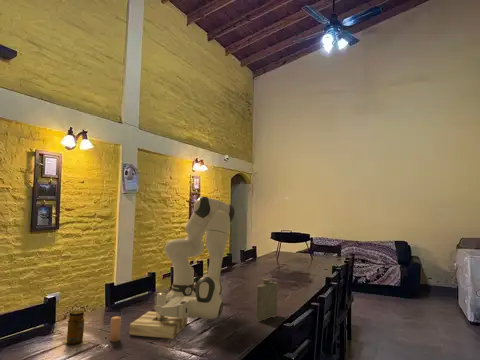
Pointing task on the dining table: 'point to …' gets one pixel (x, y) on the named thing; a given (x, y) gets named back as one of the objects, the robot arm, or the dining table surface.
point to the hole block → (157, 326)
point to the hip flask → (266, 300)
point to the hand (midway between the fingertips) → (159, 304)
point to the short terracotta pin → (115, 329)
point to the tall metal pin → (160, 301)
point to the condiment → (75, 329)
